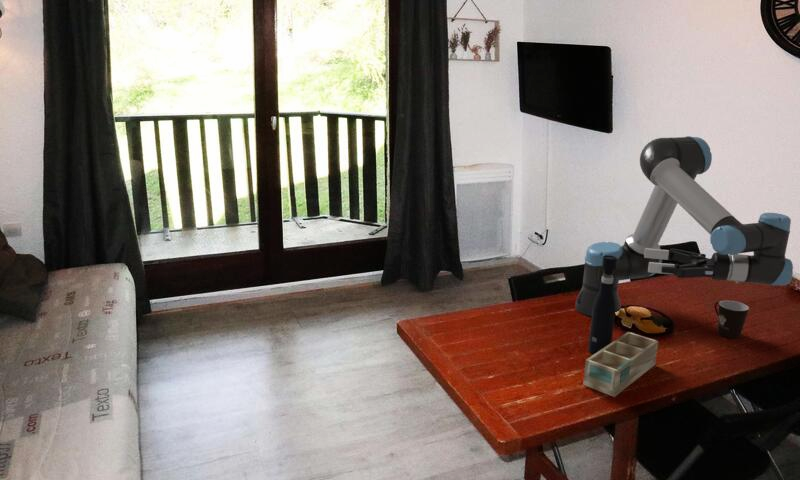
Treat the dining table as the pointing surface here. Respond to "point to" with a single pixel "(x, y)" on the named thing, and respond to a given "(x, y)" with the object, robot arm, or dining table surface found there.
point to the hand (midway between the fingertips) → (646, 259)
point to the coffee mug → (731, 318)
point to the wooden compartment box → (620, 363)
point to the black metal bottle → (603, 309)
